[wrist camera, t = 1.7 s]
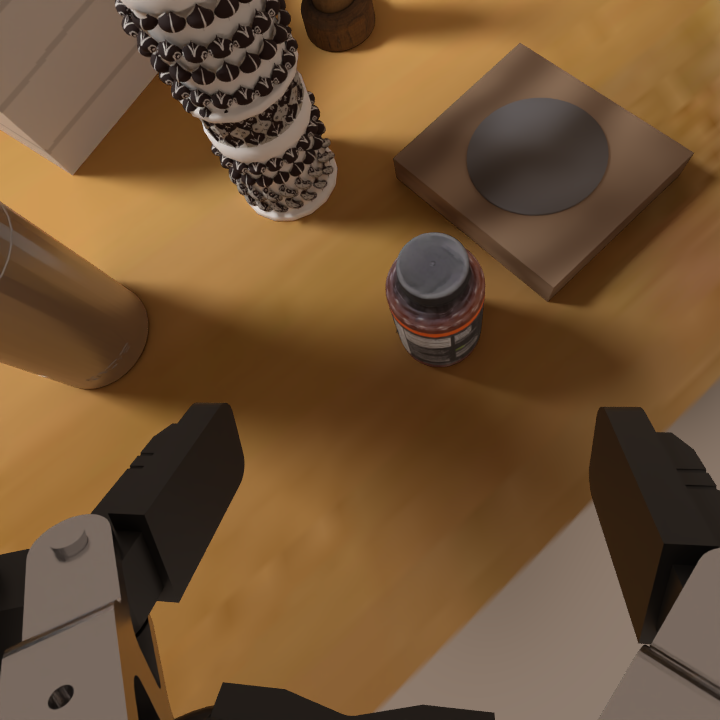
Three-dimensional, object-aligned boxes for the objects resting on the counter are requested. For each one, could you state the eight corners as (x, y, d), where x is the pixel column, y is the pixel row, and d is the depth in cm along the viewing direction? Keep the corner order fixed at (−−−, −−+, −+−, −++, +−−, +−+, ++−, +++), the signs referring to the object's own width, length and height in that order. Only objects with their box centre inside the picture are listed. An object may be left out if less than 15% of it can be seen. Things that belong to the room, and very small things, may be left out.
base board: (396, 177, 43) (392, 156, 41) (516, 67, 44) (520, 40, 42) (547, 301, 38) (554, 286, 36) (679, 174, 39) (695, 151, 37)
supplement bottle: (421, 282, 40) (408, 199, 30) (493, 312, 39) (508, 235, 28) (385, 349, 39) (359, 288, 29) (459, 383, 38) (460, 331, 27)
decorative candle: (364, 162, 44) (259, -241, 21) (295, 244, 43) (100, -80, 20) (286, 116, 47) (114, -285, 23) (219, 192, 46) (-32, -146, 22)
